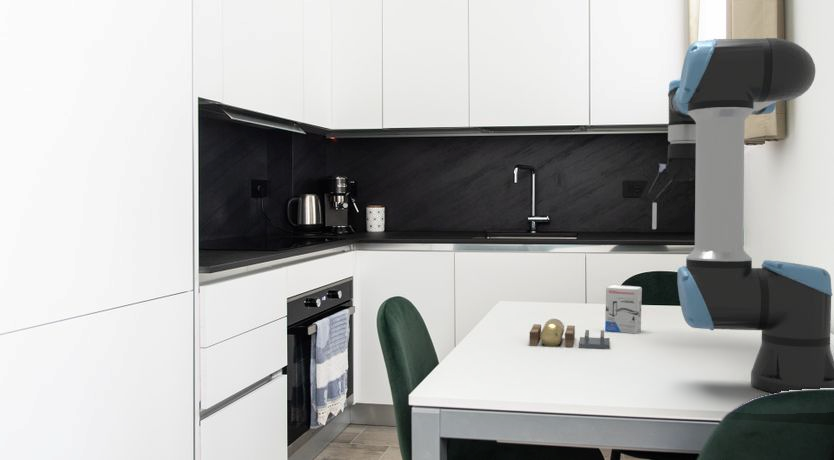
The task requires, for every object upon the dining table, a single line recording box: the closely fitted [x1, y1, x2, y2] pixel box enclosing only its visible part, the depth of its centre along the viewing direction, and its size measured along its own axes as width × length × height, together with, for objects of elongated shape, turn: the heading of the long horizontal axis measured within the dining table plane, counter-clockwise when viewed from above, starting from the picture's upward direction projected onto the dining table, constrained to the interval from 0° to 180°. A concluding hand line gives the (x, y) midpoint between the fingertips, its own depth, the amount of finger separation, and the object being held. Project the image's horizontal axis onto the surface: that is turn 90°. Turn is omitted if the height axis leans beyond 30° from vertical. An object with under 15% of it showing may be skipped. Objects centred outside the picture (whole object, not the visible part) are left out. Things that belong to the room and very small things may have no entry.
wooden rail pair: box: [529, 324, 576, 348], centre depth 202 cm, size 12×10×3 cm
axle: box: [540, 318, 565, 348], centre depth 202 cm, size 12×5×5 cm, turn 167°
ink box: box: [604, 284, 643, 335], centre depth 217 cm, size 9×5×12 cm, turn 62°
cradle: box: [578, 329, 611, 350], centre depth 198 cm, size 9×7×3 cm
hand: (682, 229), depth 205 cm, fingers open, 13 cm apart
